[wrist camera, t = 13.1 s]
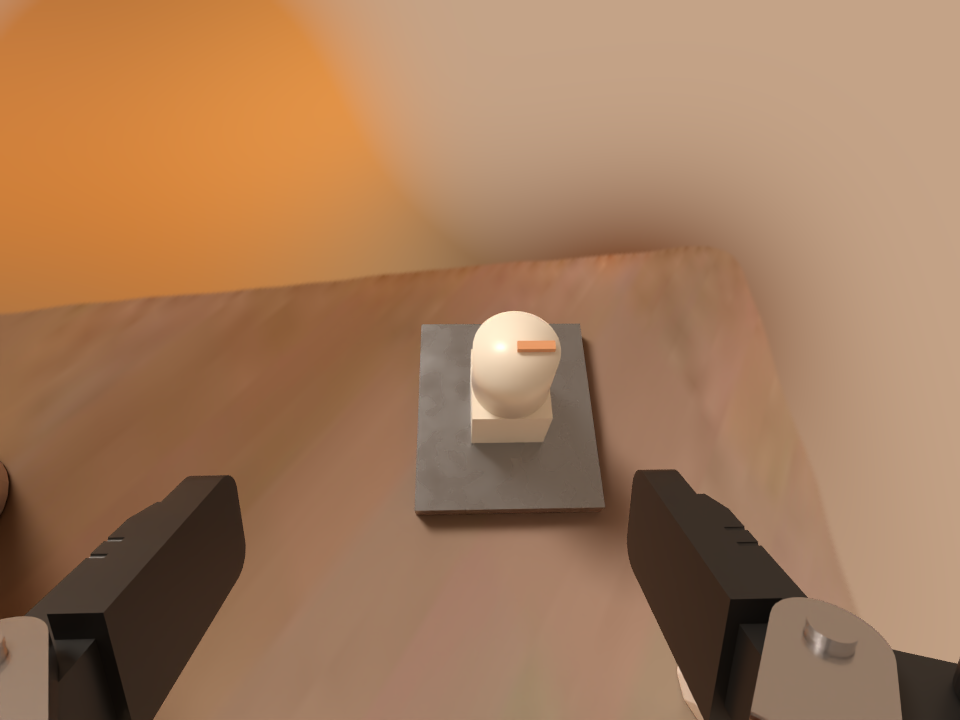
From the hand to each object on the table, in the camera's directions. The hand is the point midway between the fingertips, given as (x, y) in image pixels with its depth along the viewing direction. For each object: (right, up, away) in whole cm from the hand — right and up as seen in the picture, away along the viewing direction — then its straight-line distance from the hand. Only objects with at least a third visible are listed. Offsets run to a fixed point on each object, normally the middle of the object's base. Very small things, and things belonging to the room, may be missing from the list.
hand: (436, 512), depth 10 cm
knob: (+3, -1, +30) cm, 31 cm away
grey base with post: (+3, -2, +32) cm, 32 cm away
